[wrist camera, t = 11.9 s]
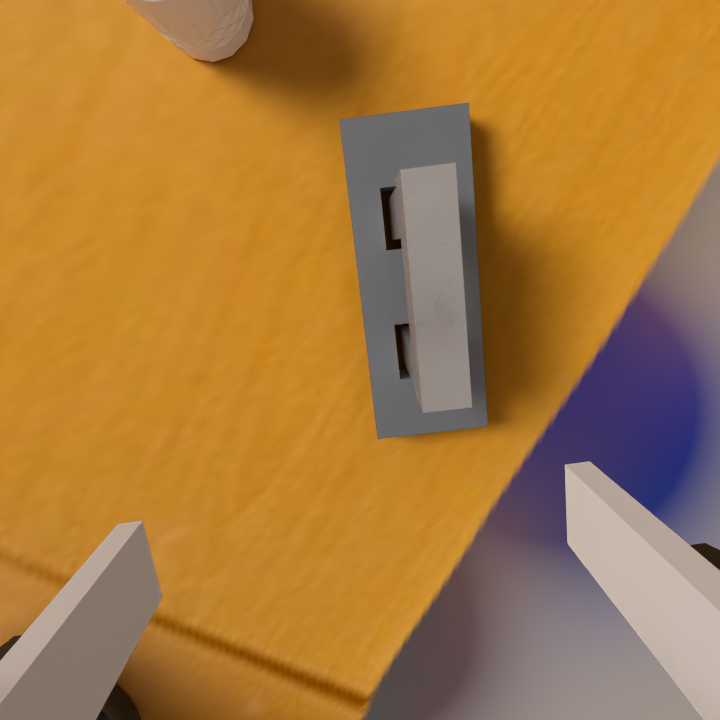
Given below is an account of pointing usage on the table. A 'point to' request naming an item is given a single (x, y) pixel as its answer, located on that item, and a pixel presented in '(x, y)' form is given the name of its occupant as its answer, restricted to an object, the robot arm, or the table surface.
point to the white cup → (200, 24)
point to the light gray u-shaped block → (432, 285)
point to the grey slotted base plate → (385, 267)
